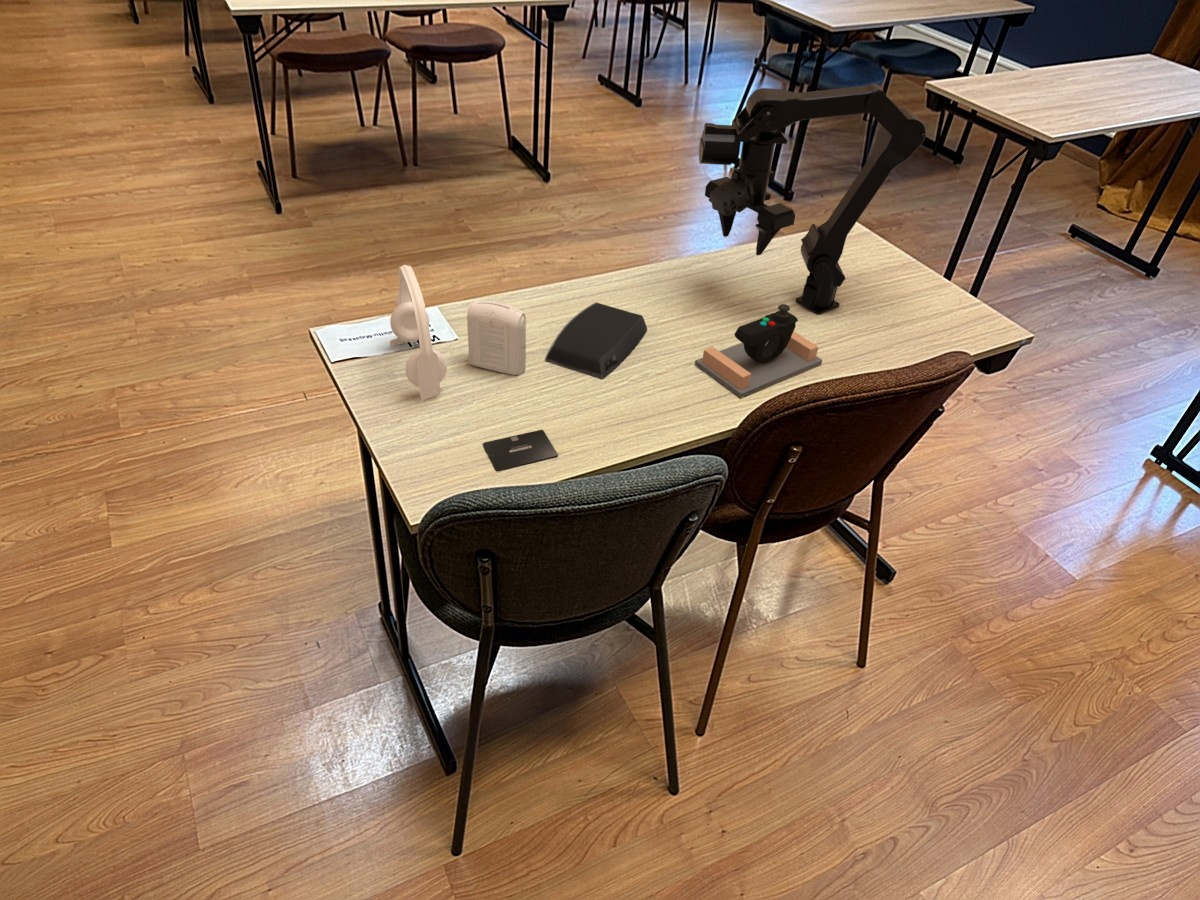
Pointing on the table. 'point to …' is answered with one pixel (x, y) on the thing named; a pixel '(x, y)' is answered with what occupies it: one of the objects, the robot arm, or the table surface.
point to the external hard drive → (597, 340)
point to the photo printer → (496, 337)
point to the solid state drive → (519, 450)
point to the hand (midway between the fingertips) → (741, 245)
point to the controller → (767, 335)
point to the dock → (757, 366)
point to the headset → (416, 336)
